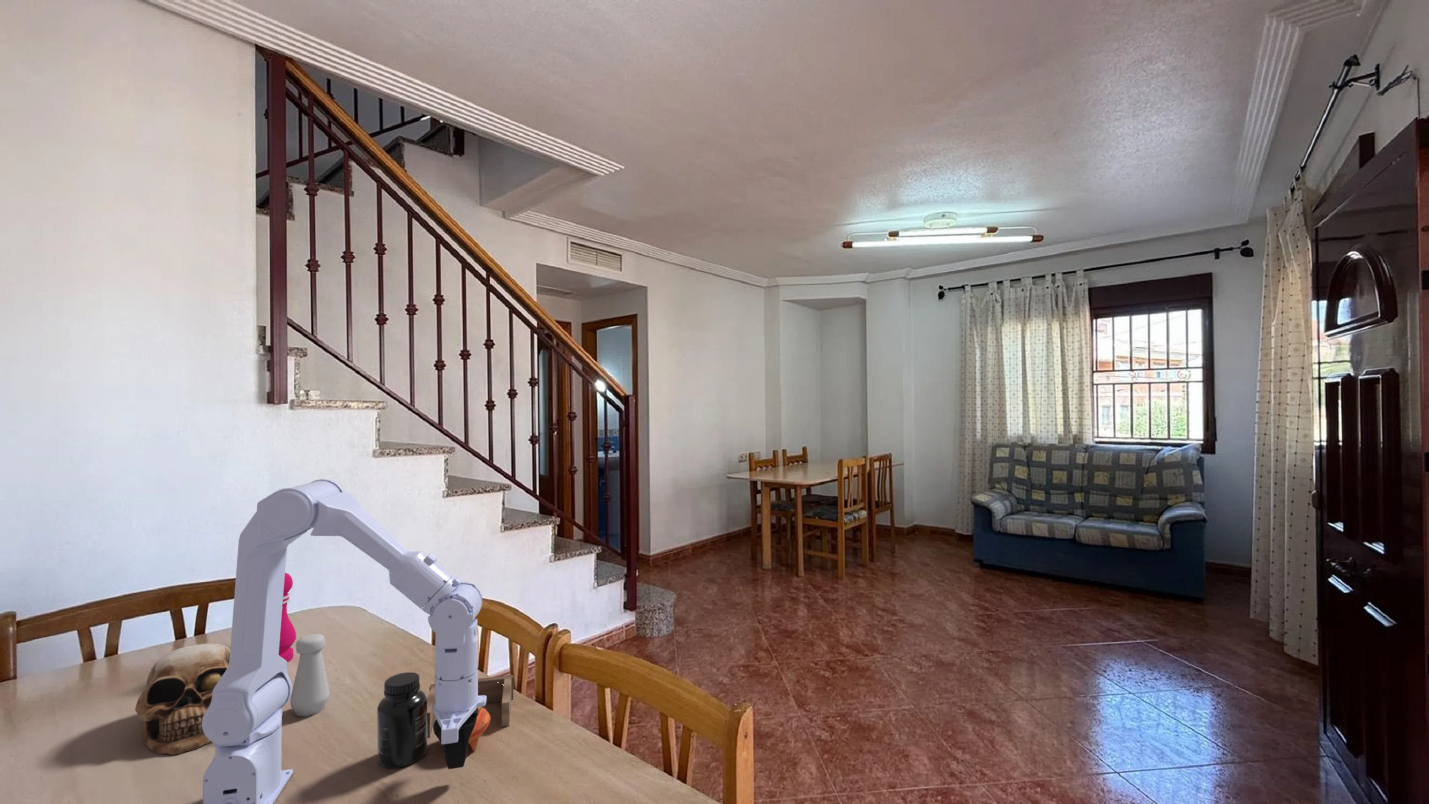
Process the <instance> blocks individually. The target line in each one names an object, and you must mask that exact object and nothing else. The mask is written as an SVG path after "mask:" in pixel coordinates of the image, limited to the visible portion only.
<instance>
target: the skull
mask: <svg viewBox="0 0 1429 804" xmlns="http://www.w3.org/2000/svg"><path fill="white" fill-rule="evenodd" d="M229 660H230V648H229V647H227V646H226V645H223V644H219V643H201V644H200V643H199V644H194V645H188V646H183V647H180V648H177V649H174V650H173V651H170V652H168V653H167V654H165V655H163V656H161V657H160V658H159V659H158V660H157V661H156V662H155V663H154V664H153V666H152V667H151V669H150V671H149V674H148V676H147V679H146V686H145V689H144V690H143V691H142V692H141V694H140V695H139V697H138V699H137V702H136V703H135V707H134V712H136V714H137V716H138V718H139V719H140V720H141V721H142V728H141V739H142V743H143V744H144V745H145V746H146V747H147V749H148V750H151V751H152V753H153V754H157V755H160V754H161V755H162V754H168V755H172V756H173V755H179V754H184V753H187V752H191V751H193V750H196V749H198V748H200V747H202V746H205V745H207V744H210V743H211V741H210V740H209V739H208V738H207V737H206V736H205V734H204V732H203V729H202V719H203V716H204V714H205V712H206V710H207V709H208V707H209V706H210V704H211V701H212V692H213V689H214V688H215V686H216V685H217V683H218V682H219V680H220V679H221V677H222V676H223V674H224V673H225V671H226V670H227V668H228V666H229Z"/></svg>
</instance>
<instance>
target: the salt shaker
mask: <svg viewBox="0 0 1429 804" xmlns="http://www.w3.org/2000/svg"><path fill="white" fill-rule="evenodd" d="M325 647H326V637H325V635H323V634H320V633H313V634H312V633H311V634H307V635H304V636H302V637H300V638H299V639H298V640H297V641H295V650H296V653H297V654H300V655H299V659H298V665H297V669H296V671H295V672H296V674H295V676H294V682H293V684H292V694H291V697H290V699H289V700H290V702H289V703H290V707H291V709H292V710H293V711H294V714H295V715H296V716H300V717H310V716H312V715H315V714H318V713H320V712H321V711H322V710H323V709H325V707H326V705H327V704H328V700H329V698H330V695H331V692H330V691H331V690H330V686H329V685H330V684H329V681H328V676H327V672H326V671H327V670H326V665H325V661H324V657H323V656H324V655H323V652H322V650H323V649H324V648H325Z"/></svg>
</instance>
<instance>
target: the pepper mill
mask: <svg viewBox="0 0 1429 804" xmlns="http://www.w3.org/2000/svg"><path fill="white" fill-rule="evenodd" d="M293 585H294V581H293V578H292V576H291V574H289V573H287V572H285V578H284V591H283V604H282V616H281V629H280V642H279V656H280V657H282V658H283V659H285V660H286V661H287V663H289V662H290V661H292V659H293V658H294V648H293V647H292V646H293V645H294V643H296V640H297V631H296V629H295V626H294V624H293V623H292V621H291V620H290V617H289V614H288V603H289V602H290V601H291V594H290V593H289V592H290V591H291V589H292V588H293Z"/></svg>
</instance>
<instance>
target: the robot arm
mask: <svg viewBox="0 0 1429 804" xmlns="http://www.w3.org/2000/svg"><path fill="white" fill-rule="evenodd" d="M311 529H312V530H311ZM309 530H311V533H310V536H311V537H312V536H313V537H342V538H344V539H345V540H346V541H348V542H349V543H350V544H352V545H353V546H355V547H356V548H358V549H359V550H360V551H361V552H362V553H364V554H365V555H367V556H369V557H370V558H371V559H373V560H374V561H375V562H377V563H378V564H380V565H381V566H382V567H383V568H385V569H386V570H387V571H388V575H389V577H388V578H389V584H390V585H391V586H392V587H394V588H395V589H396V590H397V591H399V592H400V593H401V594H402V595H403V596H405V598H407V599H409V601H411V603H413V604H415V605H416V607H418V608H419V609H420V610H421V611H423V612H424V613H425V614H428V615H429V616H427V622H428V624H429V627H430V629H431V630H432V631H433V632H434V633H435V643H434V684H435V703H434V705H433V713H434V715H435V717H436V719H435V722H434V725H433V729H432V731H433V734H434V735H435V736H436V738H437V739H438V741H439V742H440V745H441V748H442V751H443V754H444V759H445V760H444V761H445V764H446V766H447V769H448V770H453V769H454V770H455V769H460V768H463V767H465V762H466V758H467V752H468V747H469V743H468V742H469V738H470V735H471V733H472V731H473V729H474V727H475V724H476V721H477V715H478V707H485V706H486V704H487V703H486V698H487V697H486V696H485V695H482V696H478V679H479V635H478V618H476V617H477V616H478V614H479V613H480V611H481V610H482V606H483V596H482V593H481V591H480V590H479V588H477V586H476V585H475V583H473V582H470V581H463V580H462V579H461V578H460V577H459V576H456V577H454V576H453V575H452V574H450V573H449V572H448V571H447V570H446V569H444V568H443V567H442V566H441V565H440V564H439V563H437V562H436V561H437V560H438V558H437V556H436V555H434V554H433V553H429V554H428V555H427V553H425V552H424V551H422V550H419V551H417V550H416V551H410V550H408V549H406V548H405V546H404V545H402V544H401V543H400V541H398V540H397V539H396V538H395V537H394V536H393V535H392V534H391V533H390V532H389V531H388V530H387V529H385V528H384V527H383V526H382V525H381V524H380V523H379V522H378V521H377V520H376V519H375V518H373V516H371V515H370V514H369V513H368V511H367V510H365V509H364V508H363V507H362V506H361V504H360V503H359V501H358V500H357V499H356V497H355V495H353V494H352V493H351V492H348V491H347V490H346V491H344V489H343V487H342V486H341V484H339V483H337V482H335V481H334V480H331V479H329V478H328V479H327V478H326V479H325V478H319V479H315V480H312V481H311V482H308V483H305V484H300V485H295V486H293V487H285V488H281V489H278V490H276V491H274V492H272V493H271V494H269V495H268V496H266V497H265V498H262V499H261V500H260V501H258V502H257V504H256V512H255V513H254V515H253V516H252V517H251V518H250V520H249V521H248V523H247V524H246V526H245V527H244V528H243V530H242V531H241V532H240V534H239V536H238V537H239V538H238V548H237V559H236V569H235V570H236V571H235V583H234V584H235V585H234V600H233V611H232V612H233V613H232V624H231V634H230V635H231V637H230V648H229V649H230V660H229V666H228V668H227V670H226V671H225V673H224V674H223V676H222V677H221V679H220V680H219V682H218V683H217V685H216V686H215V688H214V689H213V692H212V701H211V704H210V706H209V707H208V709H207V710H206V712H205V714H204V716H203V719H202V729H203V732H204V734H205V736H206V737H207V738H208V739H209V740H210V741H211V742H212V743H213V747H215V751H214V756H213V758H212V760H211V762H210V763H209V765H208V767H207V768H206V770H205V772H204V774H203V777H202V779H203V780H202V804H274V803H275V801H276V800H277V798H278V796H279V795H280V794H281V792H282V790H283V789H284V787H285V786H286V784H287V783H288V781H289V779H290V778H291V777H292V775H293V773H294V769H293V768H289V769H282V763H283V762H282V761H283V759H282V756H283V755H282V754H283V753H282V749H283V748H282V745H283V744H282V740H283V739H282V732H283V731H282V726H283V725H282V724H283V722H282V721H283V720H282V719H283V718H282V716H283V708H284V707H285V706H286V705H287V703H288V702H289V700H290V698H291V694H292V690H293V683H292V680H291V678H290V676H289V674H288V662H287V661H286V660H285V659H283V658H282V657H280V656H279V642H280V629H281V616H282V604H283V591H284V578H285V573H286V563H287V550H288V549H287V548H288V546H289V545H290V544H292V543H294V541H296V540H297V539H299V538H300V537H301V536H302V535H304V534H305V533H307V532H308V531H309ZM211 742H210V743H211Z"/></svg>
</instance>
